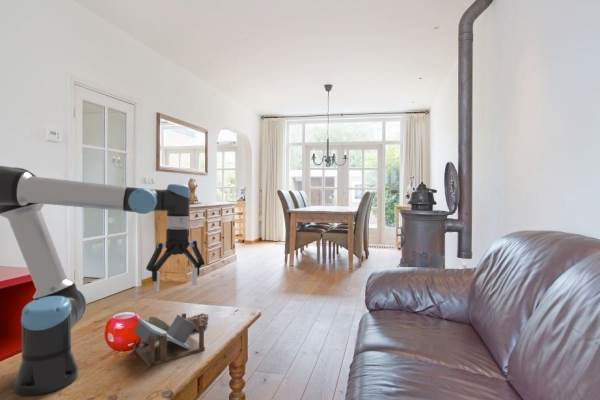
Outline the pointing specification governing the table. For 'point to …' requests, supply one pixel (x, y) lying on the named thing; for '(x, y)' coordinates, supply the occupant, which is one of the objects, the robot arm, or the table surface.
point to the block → (181, 329)
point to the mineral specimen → (199, 320)
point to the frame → (168, 348)
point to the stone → (159, 323)
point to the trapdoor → (153, 333)
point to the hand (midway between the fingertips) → (176, 287)
